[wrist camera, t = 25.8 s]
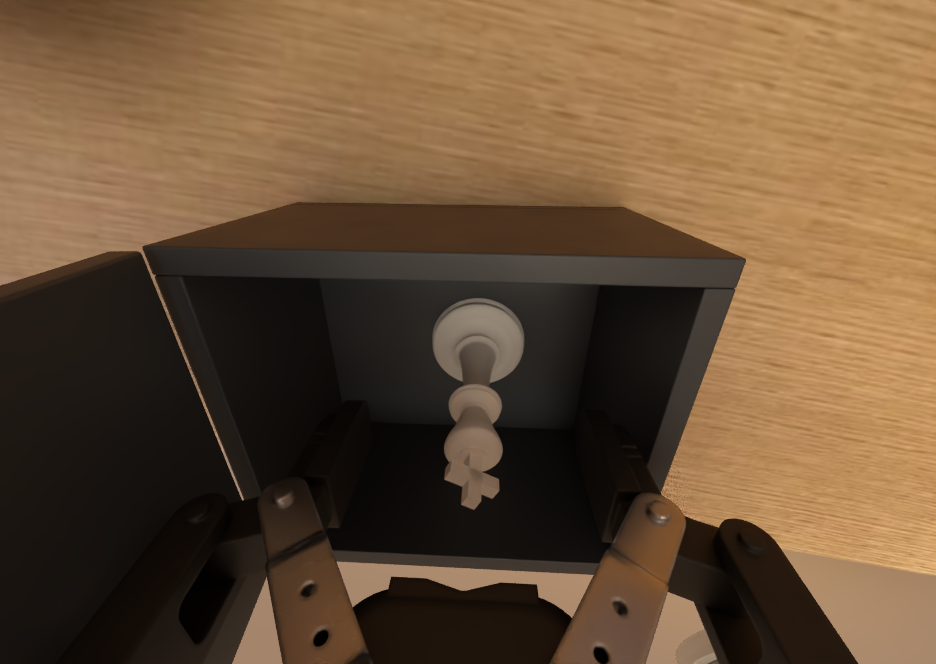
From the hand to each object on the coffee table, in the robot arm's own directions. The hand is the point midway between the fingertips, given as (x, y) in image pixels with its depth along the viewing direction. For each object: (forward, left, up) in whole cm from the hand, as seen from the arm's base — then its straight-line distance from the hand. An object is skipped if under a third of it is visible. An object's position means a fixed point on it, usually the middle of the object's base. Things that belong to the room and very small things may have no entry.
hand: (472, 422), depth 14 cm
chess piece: (0, 0, -7) cm, 7 cm away
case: (0, +1, -7) cm, 7 cm away
